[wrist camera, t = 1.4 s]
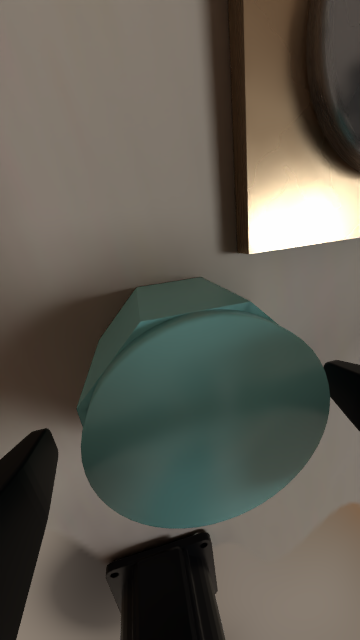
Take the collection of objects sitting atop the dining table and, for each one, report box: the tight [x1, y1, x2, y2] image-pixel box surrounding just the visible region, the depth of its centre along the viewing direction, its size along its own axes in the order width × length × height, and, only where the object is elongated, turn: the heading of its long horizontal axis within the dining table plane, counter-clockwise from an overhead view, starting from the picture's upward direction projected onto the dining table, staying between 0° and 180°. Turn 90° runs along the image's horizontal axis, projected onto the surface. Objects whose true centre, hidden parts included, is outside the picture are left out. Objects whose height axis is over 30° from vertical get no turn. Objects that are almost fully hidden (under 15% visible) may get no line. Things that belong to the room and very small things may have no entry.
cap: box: [76, 277, 330, 528], centre depth 8 cm, size 6×6×5 cm
